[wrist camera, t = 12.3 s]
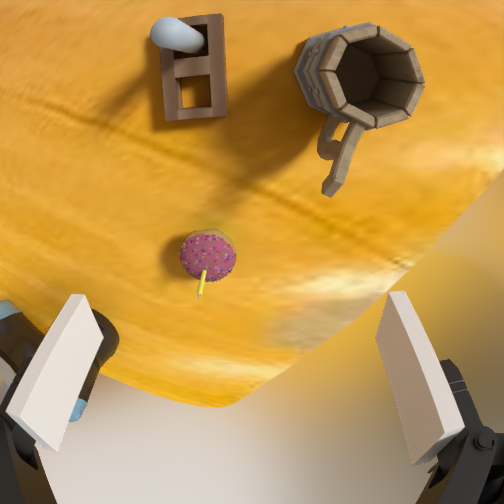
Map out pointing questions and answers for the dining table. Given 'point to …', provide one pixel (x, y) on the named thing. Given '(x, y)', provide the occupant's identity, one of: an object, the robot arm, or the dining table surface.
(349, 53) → the tankard
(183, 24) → the dowel
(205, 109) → the hole block
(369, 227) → the dining table surface
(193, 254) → the cupcake
